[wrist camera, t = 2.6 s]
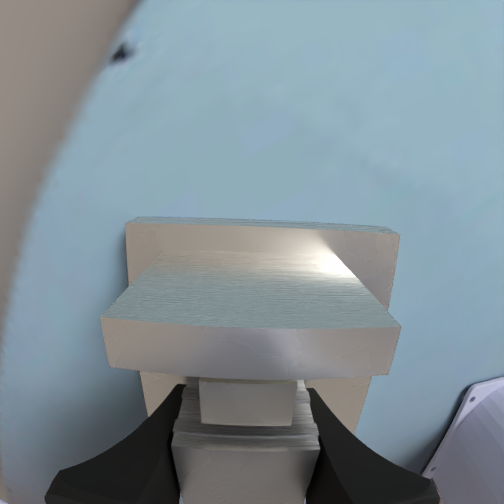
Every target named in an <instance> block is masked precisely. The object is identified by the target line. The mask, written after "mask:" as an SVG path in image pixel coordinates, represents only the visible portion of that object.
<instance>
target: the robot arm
mask: <svg viewBox="0 0 504 504" xmlns="http://www.w3.org/2000/svg"><path fill="white" fill-rule="evenodd" d="M186 386H187V384H177V385H175V387H174V388H173V389H172V391H171V392H170V393H169V395H168V396H167V397H166V398H165V400H164V401H163V402H162V403H161V404H160V405H159V407H158V408H157V409H156V410H155V411H154V412H153V413H152V414H151V415H150V416H149V417H148V418H147V419H146V420H145V421H144V422H143V423H142V424H141V425H140V426H139V427H138V428H137V429H136V430H135V431H133V432H132V433H131V434H130V435H129V436H127V437H126V438H125V439H123V440H122V441H121V442H119V443H118V444H116V445H115V446H113V447H112V448H110V449H109V450H107V451H105V452H103V453H102V454H100V455H98V456H96V457H94V458H92V459H90V460H88V461H86V462H83V463H81V464H78V465H75V466H73V467H70V468H67V469H64V470H60V471H59V472H58V474H57V475H56V477H55V478H54V480H53V481H52V483H51V485H50V487H49V489H48V491H47V493H46V495H45V502H46V504H179V499H180V491H181V490H180V485H179V481H178V477H177V472H176V467H175V463H174V458H173V453H172V448H171V444H172V440H173V427H174V423H175V419H178V416H179V412H180V408H181V405H182V393H183V390H184V387H186ZM306 391H308V392H309V396H310V400H311V401H310V408H311V412H312V417H313V421H314V423H316V424H317V428H318V432H319V437H318V442H319V446H320V452H319V455H318V459H317V462H316V465H315V469H314V472H313V475H312V478H311V481H310V484H309V487H308V490H307V493H306V504H439V502H440V497H439V495H438V493H437V490H436V488H435V486H434V485H433V483H432V482H431V480H430V479H431V478H433V480H434V482H435V484H436V486H437V488H438V490H439V492H440V494H441V496H442V498H443V500H444V503H445V504H504V377H500V378H497V379H493V380H489V381H485V382H481V383H477V384H474V385H472V386H471V387H470V388H469V389H468V391H467V393H466V395H465V397H464V399H463V401H462V403H461V406H460V408H459V410H458V412H457V414H456V416H455V418H454V420H453V422H452V424H451V426H450V428H449V429H448V431H447V433H446V435H445V437H444V439H443V440H442V442H441V444H440V446H439V447H438V449H437V451H436V453H435V454H434V456H433V458H432V459H431V461H430V463H429V464H428V466H427V467H426V469H425V471H424V472H423V474H422V476H420V475H417V474H415V473H412V472H410V471H407V470H405V469H403V468H401V467H399V466H397V465H395V464H393V463H392V462H390V461H388V460H387V459H385V458H383V457H382V456H380V455H379V454H377V453H375V452H374V451H373V450H371V449H370V448H369V447H367V446H366V445H365V444H364V443H362V442H361V441H360V440H359V439H358V438H357V437H355V436H354V435H353V434H352V433H351V432H350V431H349V430H348V429H347V428H346V427H345V426H344V425H343V424H342V423H341V421H340V420H339V419H338V418H337V417H336V416H335V415H334V413H333V412H332V411H331V410H330V409H329V407H328V406H327V405H326V403H325V402H324V401H323V400H322V398H321V397H320V395H319V394H318V393H317V391H316V390H315V389H314V388H306ZM0 504H9V503H7V502H5V501H3V500H2V499H0Z"/></svg>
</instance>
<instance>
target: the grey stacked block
mask: <svg viewBox="0 0 504 504" xmlns="http://www.w3.org/2000/svg"><path fill="white" fill-rule="evenodd" d="M199 378H200V377H193V376H189V378H188V382H187V386H186V387H184V390H183V393H182V405H181V408H180V412H179V416H178V419H175V423H174V427H173V440H172V444H171V448H172V453H173V458H174V463H175V467H176V472H177V477H178V481H179V485H180V490H181V494H182V498H183V502H184V504H303V502H304V499H305V496H306V493H307V490H308V487H309V484H310V481H311V478H312V475H313V472H314V469H315V465H316V462H317V459H318V455H319V452H320V446H319V442H318V437H319V432H318V428H317V424H316V423H314V421H313V417H312V412H311V408H310V401H311V400H310V396H309V392H308V391H306V388H305V384H304V380H297V383H298V386H297V393H296V399H295V406H294V412H293V418H292V424H291V426H243V425H220V424H205V423H202V421H201V408H200V393H199Z"/></svg>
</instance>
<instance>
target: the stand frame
mask: <svg viewBox="0 0 504 504" xmlns="http://www.w3.org/2000/svg"><path fill="white" fill-rule="evenodd" d="M125 232H126V252H127V268H128V281H129V287H128V288H127V289H126V290H125V291H124V292H123V293H122V294H121V295H120V296H119V297H118V298H117V299H116V300H115V301H114V302H113V304H112V305H111V306H110V307H109V308H108V309H107V310H106V311H105V312H104V313H103V314H102V315H101V316H100V320H101V326H102V332H103V338H104V343H105V348H106V354H107V359H108V363H109V367H115V368H121V369H128V370H136V371H140V376H141V382H142V388H143V393H144V398H145V403H146V408H147V413H148V417H149V416H150V415H151V414H152V413H153V412H154V411H155V410H156V409H157V408H158V407H159V405H160V404H161V403H162V402H163V401H164V400H165V398H166V397H167V396H168V395H169V393H170V392H171V391H172V389H173V388H174V387H175V385H177V384H187V382H188V378H189V376H193V377H200V378H199V393H200V408H201V421H202V423H205V424H220V425H243V426H291V424H292V418H293V412H294V406H295V399H296V393H297V386H298V383H297V380H304V384H305V388H314V389H315V390H316V391H317V393H318V394H319V395H320V397H321V398H322V400H323V401H324V402H325V403H326V405H327V406H328V407H329V409H330V410H331V411H332V412H333V413H334V415H335V416H336V417H337V418H338V419H339V420H340V421H341V423H342V424H343V425H344V426H345V427H346V428H347V429H348V430H349V431H350V432H351V433H352V434H353V435H354V432H355V429H356V426H357V423H358V420H359V417H360V414H361V411H362V408H363V405H364V402H365V398H366V395H367V392H368V388H369V385H370V381H371V378H372V376H379V375H388V374H389V371H390V367H391V364H392V361H393V357H394V353H395V350H396V346H397V342H398V338H399V334H400V330H401V325H400V324H399V323H398V322H397V321H396V320H395V319H394V318H393V316H392V315H391V314H390V313H389V312H388V307H389V302H390V297H391V291H392V286H393V280H394V274H395V268H396V262H397V255H398V248H399V241H400V234H399V233H397V232H395V231H393V230H391V229H388V228H386V227H380V226H365V225H350V224H333V223H315V222H295V221H273V220H249V219H219V218H182V217H137V218H135V219H133V220H131V221H128V222H126V223H125Z"/></svg>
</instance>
